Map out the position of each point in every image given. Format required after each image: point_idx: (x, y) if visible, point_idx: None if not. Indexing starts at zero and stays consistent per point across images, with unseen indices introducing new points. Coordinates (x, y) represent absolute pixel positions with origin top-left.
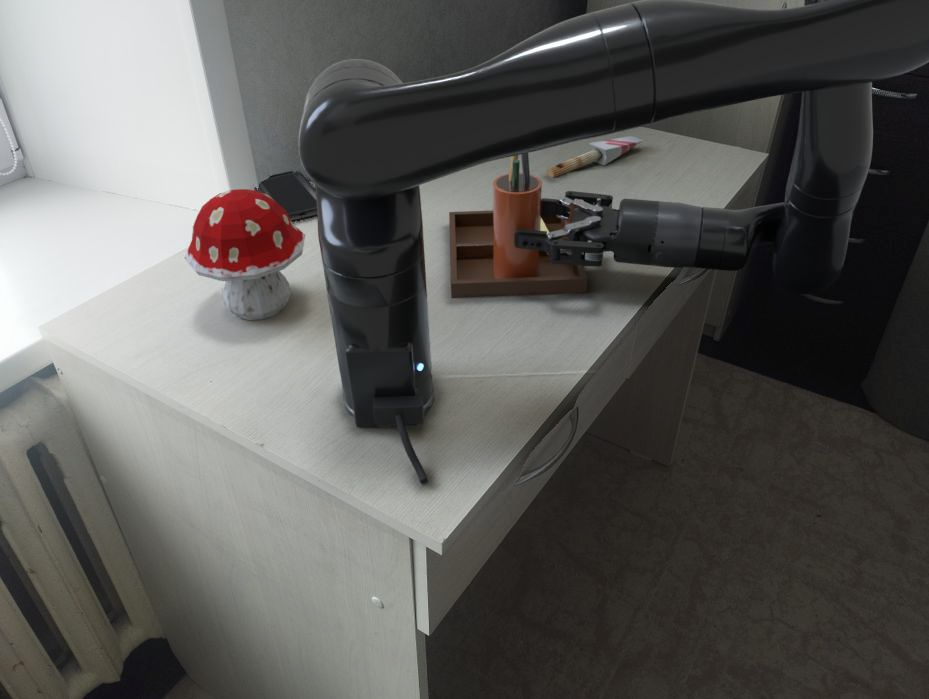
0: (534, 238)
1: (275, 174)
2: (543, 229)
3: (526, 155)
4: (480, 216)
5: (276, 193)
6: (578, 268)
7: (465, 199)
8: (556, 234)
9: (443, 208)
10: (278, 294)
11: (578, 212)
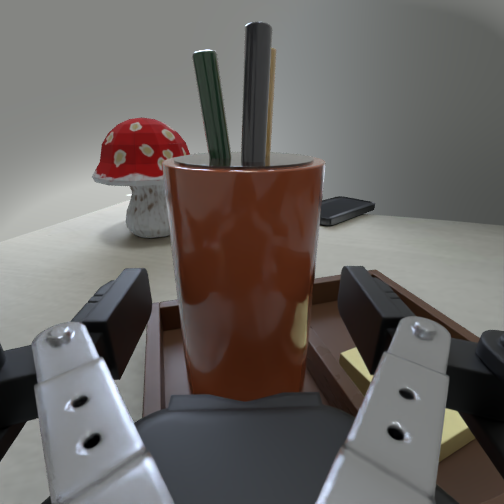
0: (85, 307)
1: (357, 199)
2: (459, 414)
3: (247, 39)
4: (404, 301)
5: (329, 204)
6: None
7: (472, 293)
8: (52, 348)
9: (418, 280)
10: (138, 219)
11: (326, 412)
